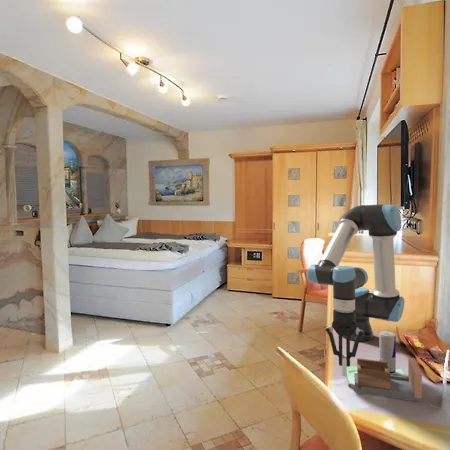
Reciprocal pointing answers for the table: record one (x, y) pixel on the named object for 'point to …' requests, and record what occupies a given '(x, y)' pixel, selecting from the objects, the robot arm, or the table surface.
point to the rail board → (399, 385)
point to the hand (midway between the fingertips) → (344, 374)
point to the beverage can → (388, 350)
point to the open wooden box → (373, 374)
